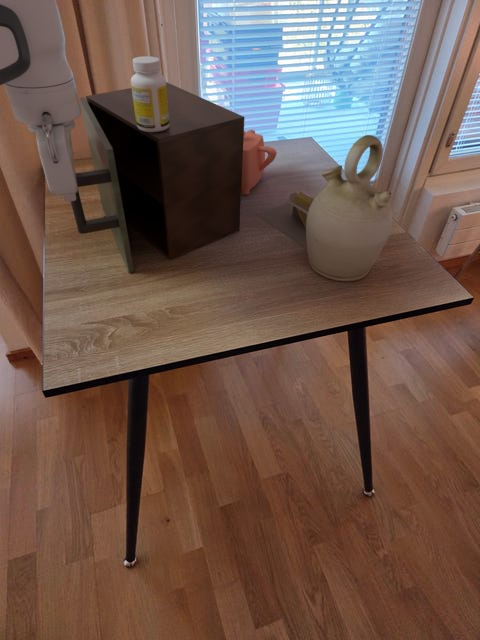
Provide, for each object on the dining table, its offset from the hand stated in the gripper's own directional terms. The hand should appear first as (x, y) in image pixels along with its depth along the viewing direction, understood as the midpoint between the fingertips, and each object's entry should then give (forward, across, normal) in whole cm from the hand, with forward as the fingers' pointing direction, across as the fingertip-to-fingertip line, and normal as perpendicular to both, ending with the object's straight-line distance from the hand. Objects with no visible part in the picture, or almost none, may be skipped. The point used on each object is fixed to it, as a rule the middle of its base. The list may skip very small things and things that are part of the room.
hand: (70, 194), depth 67 cm
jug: (+16, -10, -47) cm, 51 cm away
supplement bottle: (-7, +5, -15) cm, 18 cm away
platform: (+16, +6, -46) cm, 49 cm away
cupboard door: (+16, +10, -3) cm, 19 cm away
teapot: (+16, +27, -38) cm, 49 cm away
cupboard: (+16, +15, -19) cm, 29 cm away
